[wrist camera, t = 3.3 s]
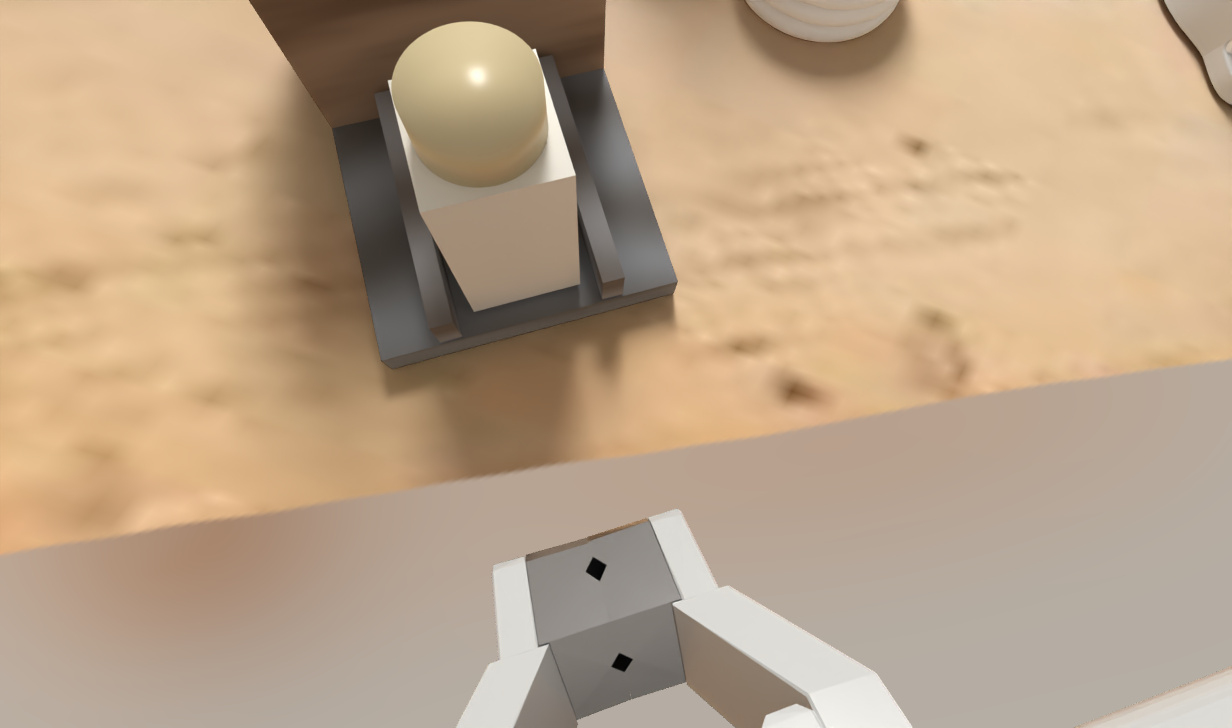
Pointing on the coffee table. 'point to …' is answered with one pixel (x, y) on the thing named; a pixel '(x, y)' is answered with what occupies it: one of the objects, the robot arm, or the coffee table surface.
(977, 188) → the coffee table surface
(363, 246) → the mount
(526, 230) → the knob
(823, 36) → the coaster
